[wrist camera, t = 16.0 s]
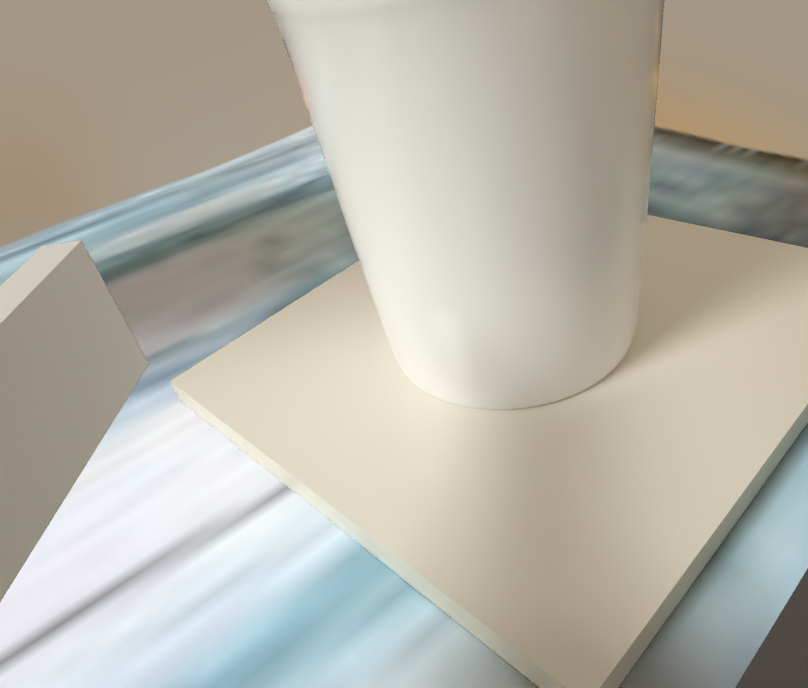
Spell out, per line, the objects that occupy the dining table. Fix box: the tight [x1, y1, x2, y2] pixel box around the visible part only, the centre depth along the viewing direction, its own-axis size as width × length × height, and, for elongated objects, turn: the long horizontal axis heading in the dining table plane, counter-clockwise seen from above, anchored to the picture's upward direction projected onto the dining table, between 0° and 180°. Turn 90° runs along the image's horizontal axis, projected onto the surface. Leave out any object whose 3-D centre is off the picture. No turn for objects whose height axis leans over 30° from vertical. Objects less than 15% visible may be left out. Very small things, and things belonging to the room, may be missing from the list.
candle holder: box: [266, 0, 665, 410], centre depth 20 cm, size 10×10×12 cm
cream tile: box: [170, 215, 808, 688], centre depth 24 cm, size 18×18×1 cm
